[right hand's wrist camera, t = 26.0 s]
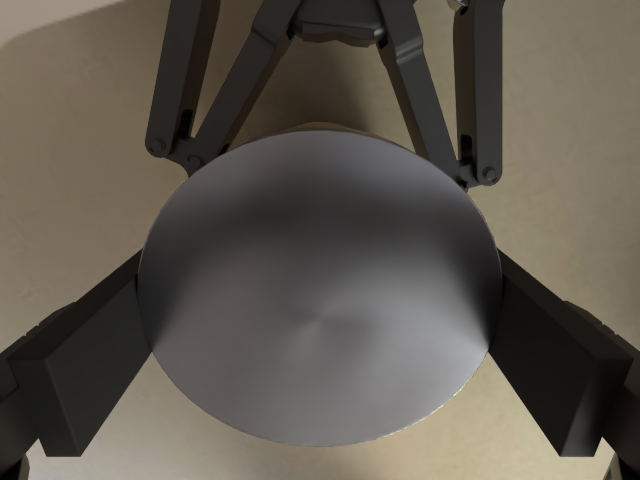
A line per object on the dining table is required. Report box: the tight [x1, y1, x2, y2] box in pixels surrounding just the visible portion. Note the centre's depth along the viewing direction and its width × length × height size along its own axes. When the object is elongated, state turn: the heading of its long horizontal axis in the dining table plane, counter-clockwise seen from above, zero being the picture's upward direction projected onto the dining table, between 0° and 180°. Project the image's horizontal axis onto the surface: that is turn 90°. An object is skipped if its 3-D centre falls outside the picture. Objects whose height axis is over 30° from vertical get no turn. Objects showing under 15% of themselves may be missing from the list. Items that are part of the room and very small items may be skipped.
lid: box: [137, 126, 503, 447], centre depth 11 cm, size 11×11×2 cm
